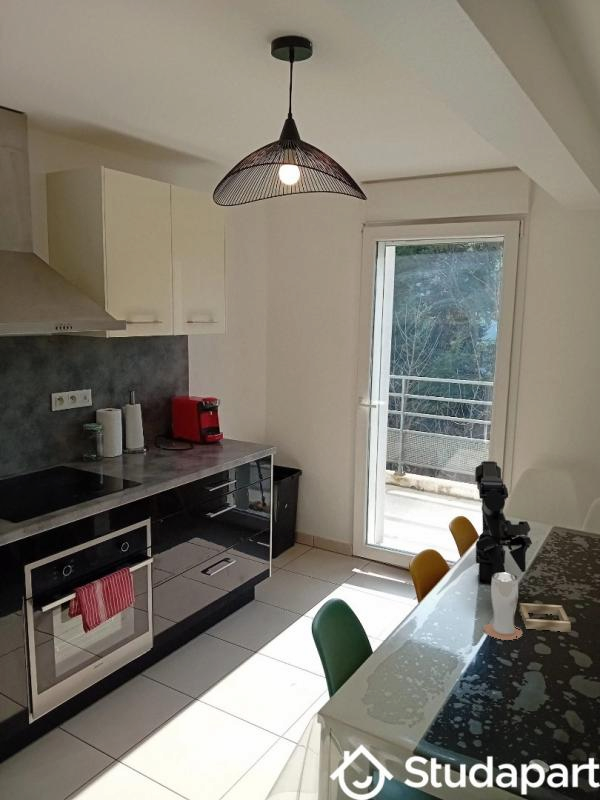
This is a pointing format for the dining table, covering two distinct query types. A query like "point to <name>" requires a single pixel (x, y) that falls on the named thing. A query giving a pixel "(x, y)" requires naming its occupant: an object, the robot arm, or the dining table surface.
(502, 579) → the beer glass
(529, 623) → the pocket frame
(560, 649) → the dining table surface
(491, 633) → the mat
